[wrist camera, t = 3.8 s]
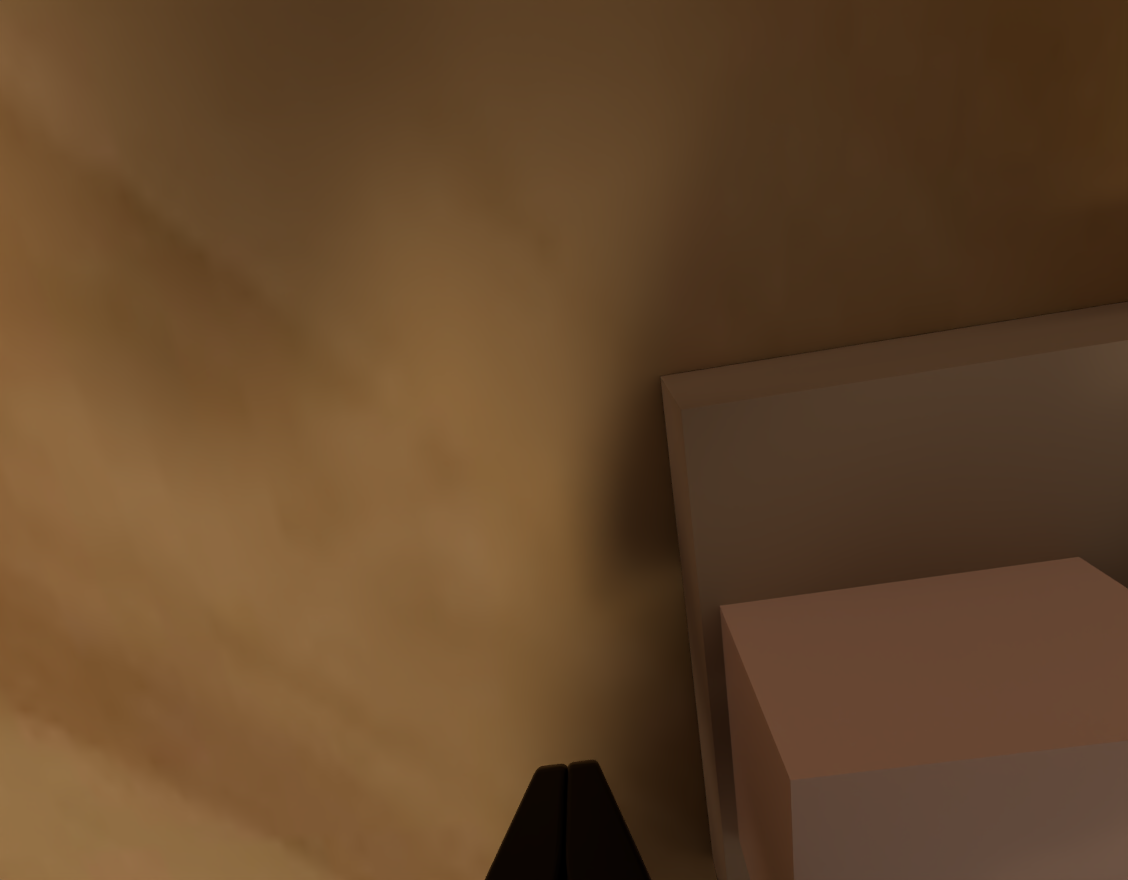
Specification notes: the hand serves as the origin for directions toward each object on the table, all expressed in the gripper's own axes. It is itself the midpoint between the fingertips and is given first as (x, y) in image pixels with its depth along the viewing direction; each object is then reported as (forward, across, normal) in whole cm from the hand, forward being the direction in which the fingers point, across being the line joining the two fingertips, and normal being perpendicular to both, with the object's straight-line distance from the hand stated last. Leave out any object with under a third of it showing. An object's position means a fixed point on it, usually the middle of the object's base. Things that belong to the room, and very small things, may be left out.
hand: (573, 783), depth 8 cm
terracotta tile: (0, -4, 0) cm, 5 cm away
